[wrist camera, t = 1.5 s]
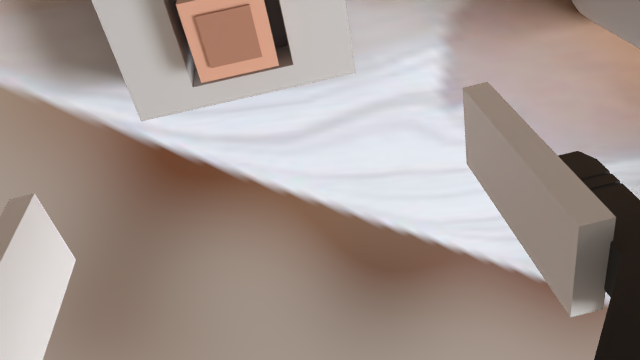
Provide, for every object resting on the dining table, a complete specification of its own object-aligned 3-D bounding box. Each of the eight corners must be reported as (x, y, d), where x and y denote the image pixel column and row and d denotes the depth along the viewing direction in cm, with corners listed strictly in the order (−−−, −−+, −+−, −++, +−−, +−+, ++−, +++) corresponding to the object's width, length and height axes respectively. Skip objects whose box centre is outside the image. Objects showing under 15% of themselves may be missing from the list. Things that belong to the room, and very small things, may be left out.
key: (180, -13, 28) (175, 5, 25) (257, -30, 28) (260, -14, 26) (203, 60, 30) (201, 84, 28) (274, 44, 30) (279, 66, 28)
